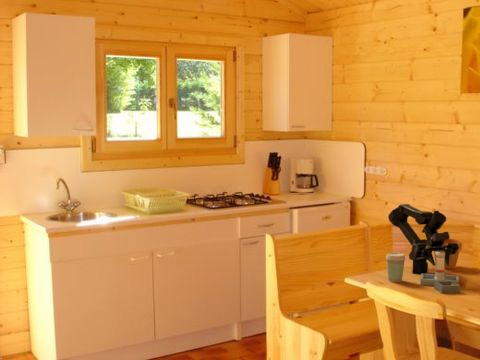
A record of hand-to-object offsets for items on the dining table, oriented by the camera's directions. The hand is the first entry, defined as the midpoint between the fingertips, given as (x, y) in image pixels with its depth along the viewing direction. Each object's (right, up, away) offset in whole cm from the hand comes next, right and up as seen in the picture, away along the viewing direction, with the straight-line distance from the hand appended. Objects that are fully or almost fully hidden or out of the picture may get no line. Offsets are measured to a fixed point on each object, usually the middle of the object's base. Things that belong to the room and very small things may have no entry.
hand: (441, 265), depth 292 cm
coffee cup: (-19, -8, +7) cm, 21 cm away
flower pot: (+12, -5, +33) cm, 35 cm away
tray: (0, -8, +2) cm, 8 cm away
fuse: (0, -7, +2) cm, 8 cm away
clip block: (-1, -9, -10) cm, 14 cm away
